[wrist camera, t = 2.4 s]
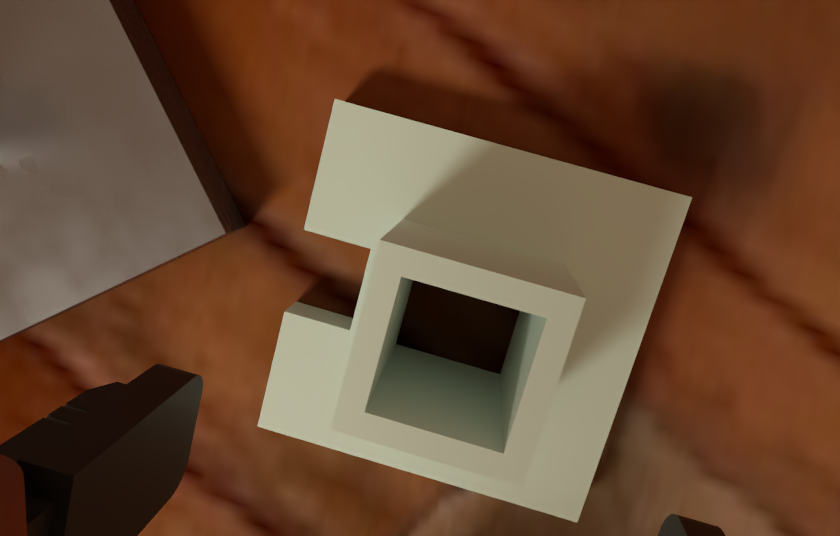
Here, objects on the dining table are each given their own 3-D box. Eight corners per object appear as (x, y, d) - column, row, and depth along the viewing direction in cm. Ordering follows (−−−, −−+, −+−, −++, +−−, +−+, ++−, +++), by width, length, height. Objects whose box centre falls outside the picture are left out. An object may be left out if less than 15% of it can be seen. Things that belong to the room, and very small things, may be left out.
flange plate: (679, 193, 23) (751, 213, 17) (572, 501, 26) (599, 619, 19) (344, 101, 24) (291, 87, 17) (270, 410, 26) (200, 496, 20)
